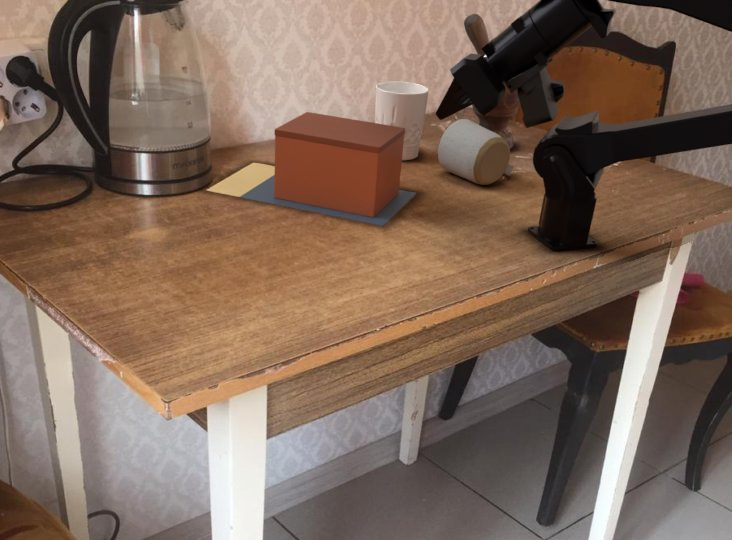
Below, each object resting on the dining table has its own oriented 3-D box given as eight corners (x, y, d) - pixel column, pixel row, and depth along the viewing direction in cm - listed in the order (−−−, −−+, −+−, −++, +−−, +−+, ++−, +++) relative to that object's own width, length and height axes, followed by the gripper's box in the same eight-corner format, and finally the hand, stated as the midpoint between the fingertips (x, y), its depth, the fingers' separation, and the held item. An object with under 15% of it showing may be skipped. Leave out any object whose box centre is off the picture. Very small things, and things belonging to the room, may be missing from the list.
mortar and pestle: (486, 160, 134) (506, 21, 123) (441, 147, 138) (457, 12, 128) (525, 146, 141) (547, 15, 131) (481, 134, 146) (499, 6, 135)
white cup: (431, 156, 134) (439, 89, 128) (399, 165, 129) (406, 96, 123) (393, 143, 138) (398, 78, 133) (360, 152, 133) (364, 85, 128)
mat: (416, 194, 119) (417, 192, 119) (383, 227, 108) (383, 225, 108) (253, 163, 126) (253, 162, 126) (205, 191, 115) (205, 190, 115)
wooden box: (399, 194, 118) (405, 127, 113) (373, 217, 110) (379, 147, 105) (304, 176, 122) (306, 111, 117) (273, 197, 114) (274, 129, 109)
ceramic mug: (473, 191, 121) (482, 135, 117) (433, 174, 126) (440, 120, 122) (524, 181, 126) (534, 128, 122) (484, 165, 132) (492, 113, 128)
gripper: (572, 107, 90) (457, 191, 99) (596, 74, 105) (494, 150, 114) (510, 18, 89) (398, 112, 98) (543, -3, 103) (444, 80, 112)
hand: (438, 116), depth 106 cm, fingers closed
